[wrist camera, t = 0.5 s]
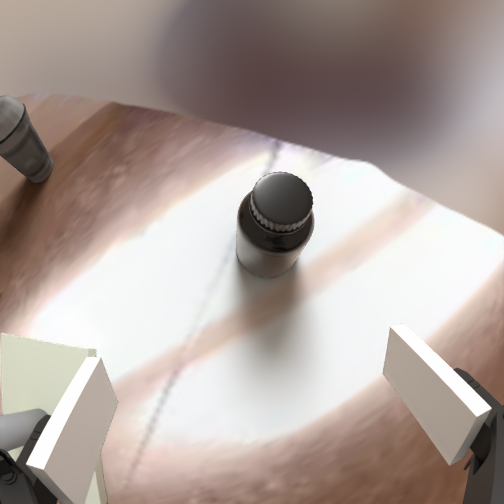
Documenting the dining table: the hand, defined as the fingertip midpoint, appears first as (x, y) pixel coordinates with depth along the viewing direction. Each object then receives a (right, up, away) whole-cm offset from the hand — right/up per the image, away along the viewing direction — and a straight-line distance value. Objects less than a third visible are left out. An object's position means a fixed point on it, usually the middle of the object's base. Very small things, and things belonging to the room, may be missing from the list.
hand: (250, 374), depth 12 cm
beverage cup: (-31, +17, +24) cm, 43 cm away
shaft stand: (-24, -15, +14) cm, 31 cm away
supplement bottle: (+2, +6, +22) cm, 23 cm away
